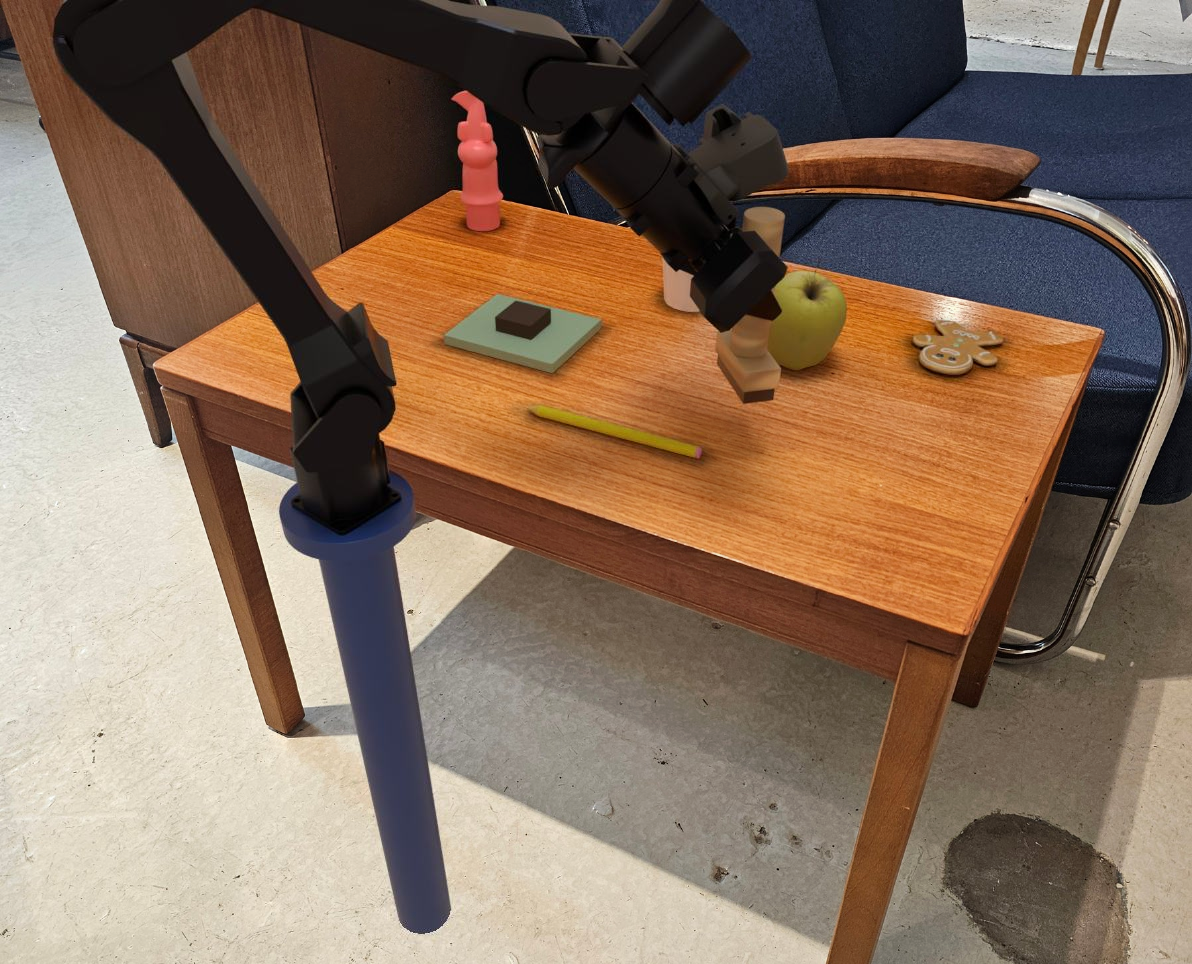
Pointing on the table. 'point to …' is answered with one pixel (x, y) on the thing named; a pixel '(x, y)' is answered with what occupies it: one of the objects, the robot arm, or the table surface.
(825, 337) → the apple
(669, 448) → the pencil
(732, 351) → the wooden rubber stamp
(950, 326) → the cookie
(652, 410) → the table surface
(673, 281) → the white cup
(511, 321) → the dark brown square block
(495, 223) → the figurine
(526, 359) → the mat
